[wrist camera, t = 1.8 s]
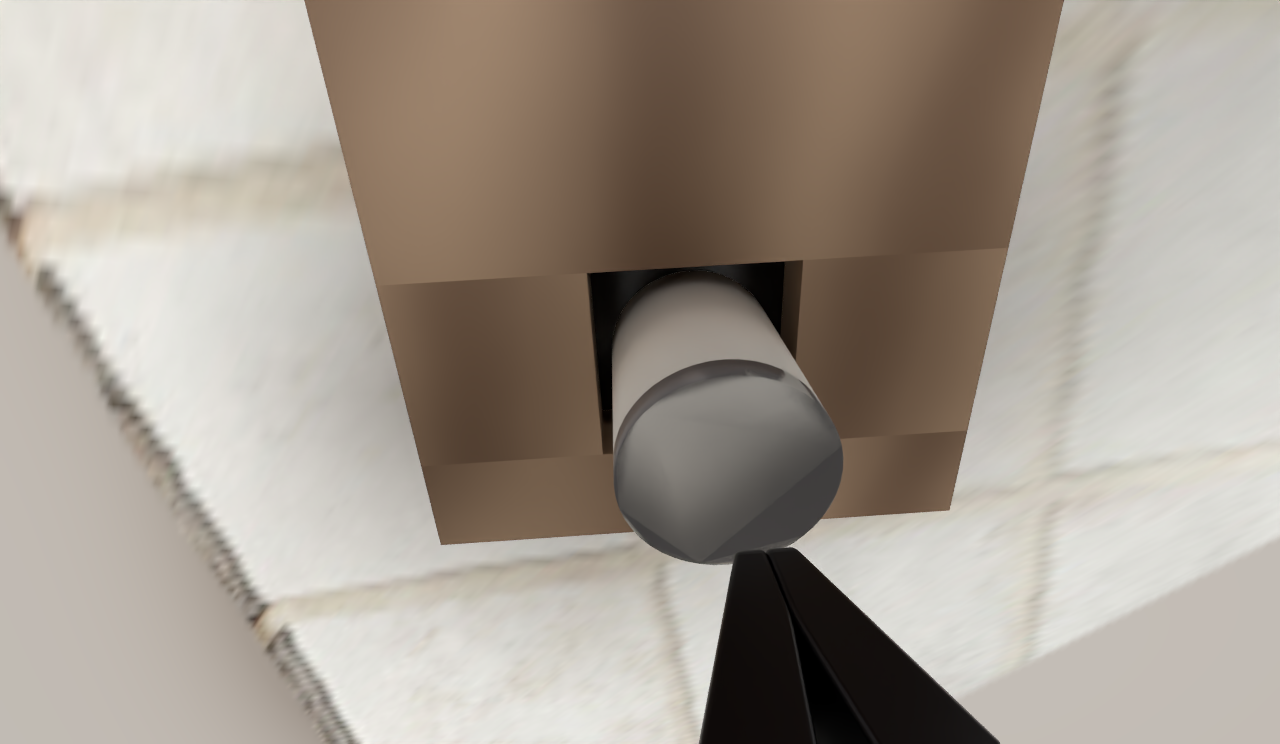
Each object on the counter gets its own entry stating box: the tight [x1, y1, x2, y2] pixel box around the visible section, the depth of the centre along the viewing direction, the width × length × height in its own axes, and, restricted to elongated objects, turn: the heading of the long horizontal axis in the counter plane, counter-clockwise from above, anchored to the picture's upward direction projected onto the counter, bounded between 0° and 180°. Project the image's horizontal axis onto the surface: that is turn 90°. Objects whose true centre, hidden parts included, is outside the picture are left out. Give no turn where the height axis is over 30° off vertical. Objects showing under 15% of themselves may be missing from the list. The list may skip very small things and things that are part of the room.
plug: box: [612, 270, 843, 565], centre depth 13 cm, size 4×4×6 cm
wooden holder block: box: [304, 0, 1064, 545], centre depth 14 cm, size 14×22×5 cm, turn 3°
